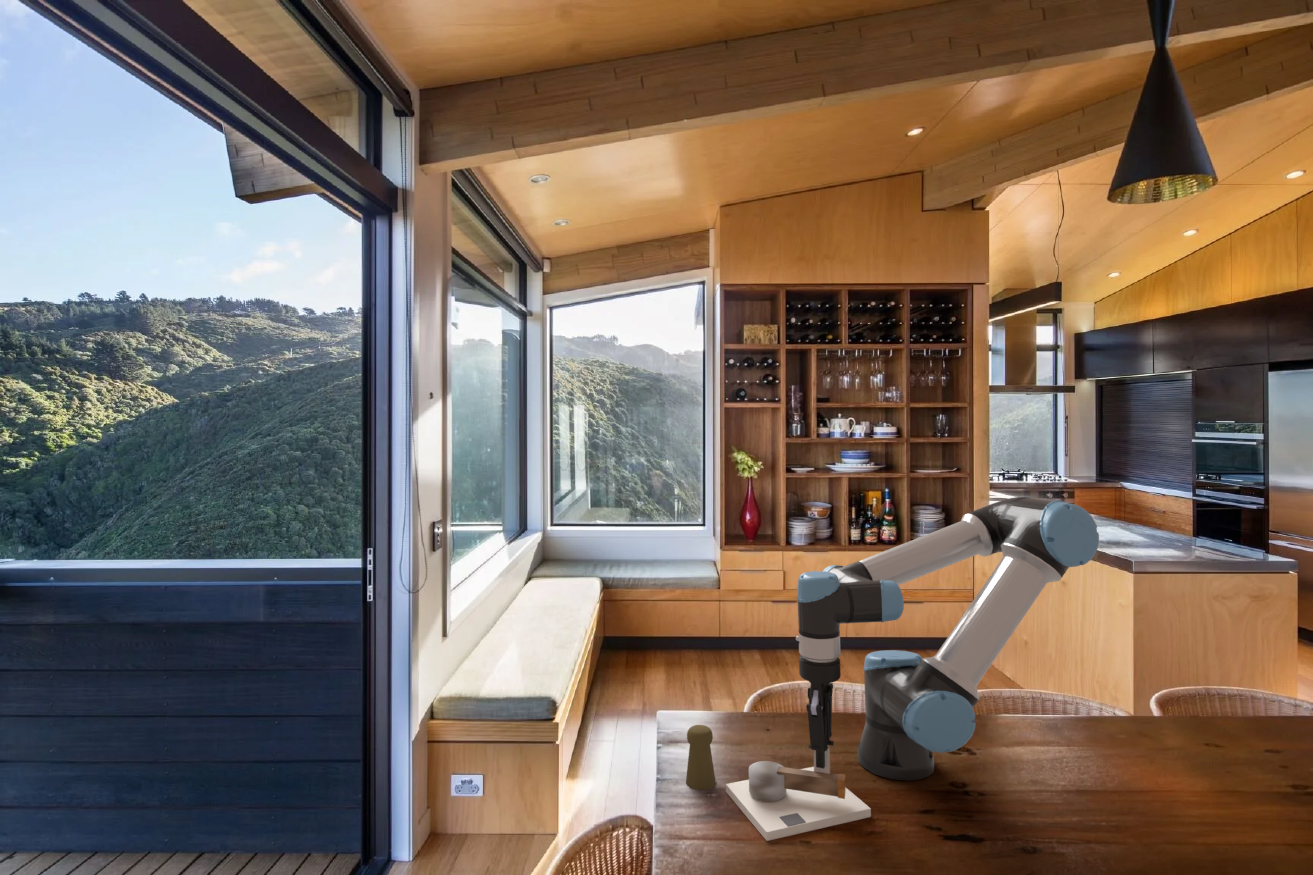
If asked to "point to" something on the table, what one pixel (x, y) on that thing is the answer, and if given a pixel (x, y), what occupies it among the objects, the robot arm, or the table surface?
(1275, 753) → the table surface
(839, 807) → the base plate
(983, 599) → the robot arm
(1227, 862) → the table surface
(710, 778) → the olive pawn
